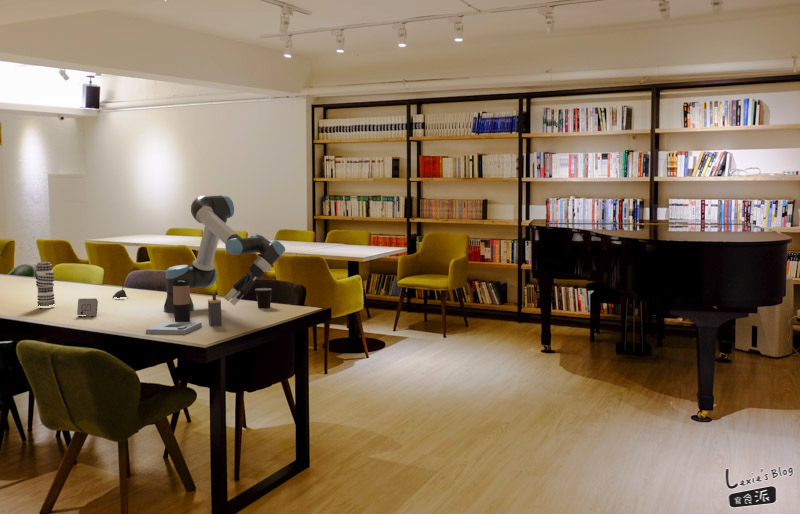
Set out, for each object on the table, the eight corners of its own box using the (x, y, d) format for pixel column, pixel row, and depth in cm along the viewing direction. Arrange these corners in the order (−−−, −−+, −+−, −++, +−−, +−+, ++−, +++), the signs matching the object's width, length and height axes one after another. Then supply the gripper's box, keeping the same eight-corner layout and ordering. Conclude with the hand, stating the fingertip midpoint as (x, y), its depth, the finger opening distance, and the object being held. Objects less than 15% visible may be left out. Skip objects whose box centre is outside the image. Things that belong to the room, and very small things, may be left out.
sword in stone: (108, 298, 417) (108, 278, 416) (120, 297, 423) (120, 277, 422) (119, 300, 411) (119, 279, 410) (131, 299, 418) (130, 278, 417)
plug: (208, 324, 333) (207, 293, 331) (219, 323, 335) (218, 292, 333) (210, 326, 328) (209, 294, 327) (221, 325, 330) (220, 293, 329)
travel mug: (176, 320, 346) (174, 279, 344) (192, 319, 346) (190, 279, 344) (172, 322, 338) (170, 281, 336) (188, 322, 339) (187, 281, 337)
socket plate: (146, 333, 313) (145, 327, 313) (165, 325, 331) (164, 320, 331) (184, 334, 311) (184, 328, 310) (201, 326, 328) (201, 321, 328)
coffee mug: (268, 309, 374) (268, 290, 373) (253, 308, 376) (252, 290, 375) (276, 305, 386) (276, 287, 385) (262, 305, 387) (261, 287, 386)
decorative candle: (55, 305, 392) (53, 261, 390) (55, 308, 384) (53, 262, 381) (37, 307, 388) (34, 261, 386) (36, 309, 380) (34, 263, 377)
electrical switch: (76, 317, 356) (76, 298, 356) (81, 316, 361) (81, 298, 361) (95, 317, 356) (95, 298, 356) (99, 316, 361) (99, 298, 361)
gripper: (271, 275, 327) (240, 310, 322) (258, 270, 350) (229, 303, 345) (260, 265, 325) (228, 300, 320) (247, 260, 347) (217, 293, 342)
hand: (228, 301), depth 332 cm, fingers open, 13 cm apart
